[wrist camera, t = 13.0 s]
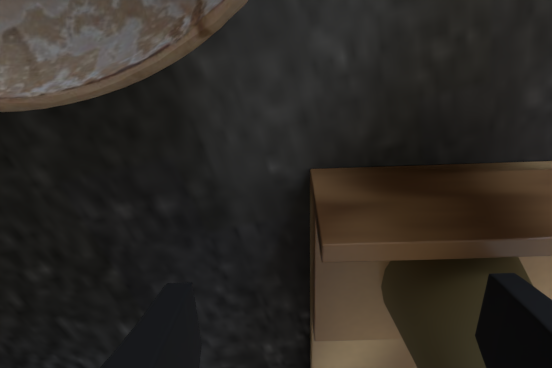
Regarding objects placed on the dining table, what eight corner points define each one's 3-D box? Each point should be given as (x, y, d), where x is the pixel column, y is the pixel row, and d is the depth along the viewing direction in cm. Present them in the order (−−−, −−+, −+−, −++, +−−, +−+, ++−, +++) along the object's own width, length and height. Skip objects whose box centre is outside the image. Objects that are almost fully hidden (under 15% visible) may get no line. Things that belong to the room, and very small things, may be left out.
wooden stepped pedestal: (310, 396, 28) (318, 501, 23) (309, 168, 21) (321, 245, 16) (506, 391, 28) (560, 495, 23) (574, 159, 21) (675, 234, 16)
